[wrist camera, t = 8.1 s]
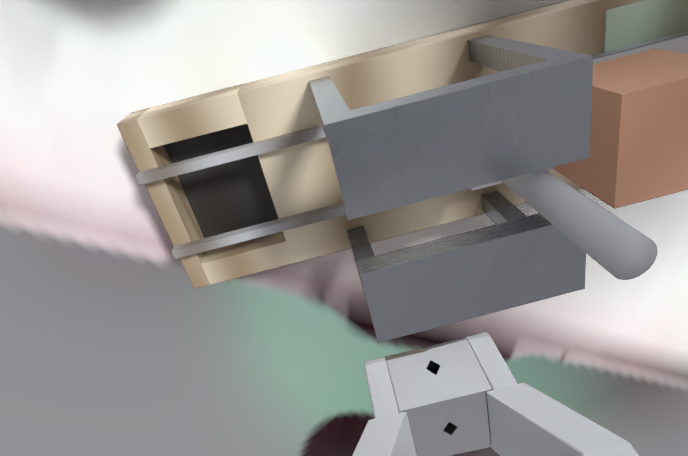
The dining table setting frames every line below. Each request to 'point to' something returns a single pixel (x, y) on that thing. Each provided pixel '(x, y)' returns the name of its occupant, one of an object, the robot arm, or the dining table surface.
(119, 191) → the dining table surface
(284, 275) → the dining table surface
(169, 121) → the board
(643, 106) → the sled
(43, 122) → the dining table surface
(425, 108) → the tunnel
